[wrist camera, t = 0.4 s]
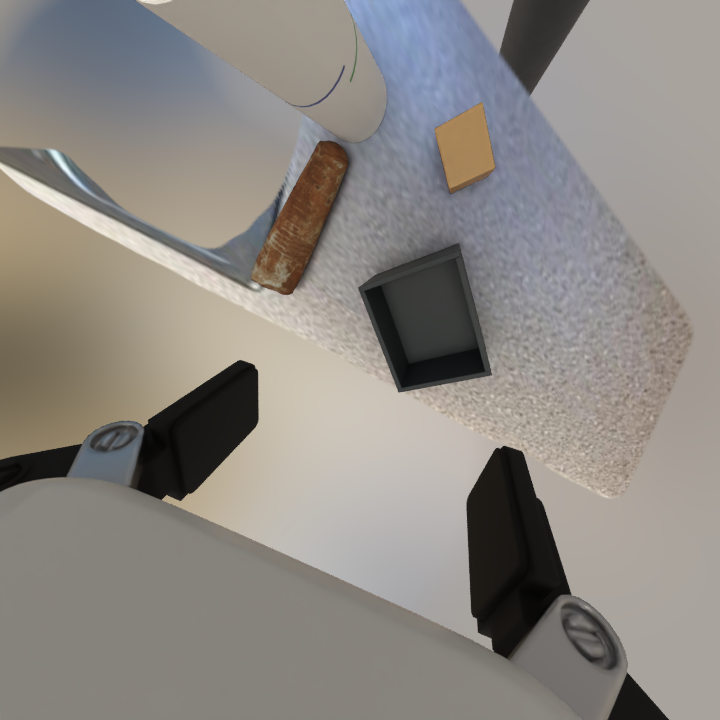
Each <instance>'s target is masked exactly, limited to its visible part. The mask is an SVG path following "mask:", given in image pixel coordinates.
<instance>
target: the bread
mask: <svg viewBox="0 0 720 720" xmlns="http://www.w3.org/2000/svg"><path fill="white" fill-rule="evenodd" d="M347 166H348V158H347V154H346V152H345V151H344V149H343V148H342V147H341V146H340V145H338V144H337V143H335V142H332V141H320V142H319V143H318V144H317V146H316V148H315V150H314V152H313V154H312V156H311V158H310V160H309V162H308V163H307V165H306V167H305V168H304V170H303V172H302V173H301V175H300V177H299V179H298V181H297V183H296V185H295V186H294V188H293V190H292V192H291V194H290V196H289V198H288V200H287V202H286V203H285V205H284V207H283V209H282V211H281V213H280V214H279V216H278V218H277V220H276V222H275V224H274V226H273V228H272V229H271V231H270V233H269V235H268V237H267V239H266V241H265V243H264V245H263V247H262V249H261V251H260V253H259V255H258V257H257V260H256V262H255V265H254V267H253V270H252V274H251V279H252V280H253V281H255V282H257V283H258V284H260V285H261V286H262V287H266V288H268V289H271V290H275V291H277V292H279V293H280V294H283V295H289V294H292V293H293V291H294V289H295V288H296V286H297V284H298V282H299V281H300V278H301V276H302V274H303V271H304V269H305V267H306V265H307V263H308V261H309V259H310V256H311V254H312V252H313V249H314V247H315V245H316V242H317V240H318V237H319V235H320V232H321V230H322V228H323V225H324V223H325V220H326V218H327V215H328V213H329V211H330V208H331V206H332V204H333V201H334V199H335V196H336V194H337V191H338V189H339V186H340V184H341V181H342V178H343V176H344V174H345V172H346V169H347Z"/></svg>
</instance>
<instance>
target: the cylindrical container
mask: <svg viewBox="0 0 720 720" xmlns="http://www.w3.org/2000/svg"><path fill="white" fill-rule="evenodd" d="M136 1H137V2H139V3H140V4H142V5H143V6H144V7H146V8H148V9H149V10H151V11H152V12H153V13H155V14H156V15H158V16H159V17H161V18H162V19H164V20H165V21H167V22H168V23H170V24H171V25H173V26H174V27H176V28H177V29H179V30H180V31H181V32H183V33H184V34H186V35H187V36H189V37H190V38H192V39H193V40H195V41H197V42H198V43H199V44H201V45H202V46H204V47H205V48H207V49H208V50H210V51H211V52H213V53H214V54H216V55H217V56H219V57H220V58H222V59H223V60H224V61H226V62H228V63H229V64H230V65H232V66H233V67H235V68H236V69H238V70H239V71H241V72H243V73H244V74H245V75H247V76H248V77H250V78H251V79H253V80H254V81H256V82H257V83H259V84H260V85H261V86H263V87H264V88H266V89H267V90H269V91H271V92H272V93H273V94H275V95H276V96H278V97H279V98H281V99H282V100H284V101H285V102H287V103H288V104H290V105H291V106H293V107H294V108H296V109H297V110H299V111H300V112H301V113H303V114H304V115H306V116H307V117H309V118H310V119H312V120H313V121H315V122H316V123H318V124H319V125H321V126H322V127H324V128H325V129H327V130H328V131H330V132H331V133H333V134H334V135H336V136H337V137H338V138H340V139H342V140H344V141H346V142H350V143H358V142H362V141H364V140H366V139H368V138H369V137H370V136H371V135H373V134H374V133H375V131H376V130H377V129H378V127H379V126H380V124H381V122H382V120H383V117H384V114H385V110H386V105H387V90H386V84H385V81H384V78H383V76H382V73H381V71H380V69H379V68H378V66H377V64H376V62H375V60H374V58H373V56H372V54H371V52H370V50H369V48H368V46H367V44H366V42H365V40H364V38H363V36H362V34H361V33H360V31H359V29H358V27H357V25H356V23H355V21H354V19H353V17H352V15H351V13H350V11H349V9H348V7H347V5H346V3H345V1H344V0H136Z"/></svg>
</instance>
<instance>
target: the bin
mask: <svg viewBox="0 0 720 720" xmlns="http://www.w3.org/2000/svg"><path fill="white" fill-rule="evenodd" d="M358 289H359V291H360V292H361V293H360V294H361V297H362V299H363V302H364V304H365V307H366V309H367V312H368V315H369V317H370V320H371V322H372V325H373V327H374V330H375V333H376V335H377V338H378V340H379V343H380V345H381V348H382V351H383V353H384V356H385V358H386V361H387V364H388V366H389V369H390V371H391V374H392V376H393V379H394V382H395V384H396V387H397V389H398V392H405V391H410V390H415V389H421V388H426V387H431V386H437V385H442V384H447V383H453V382H458V381H463V380H469V379H474V378H480V377H485V376H490V375H492V373H491V369H490V364H489V360H488V356H487V352H486V348H485V344H484V340H483V336H482V332H481V328H480V324H479V320H478V316H477V312H476V308H475V304H474V300H473V297H472V293H471V289H470V285H469V281H468V277H467V273H466V269H465V265H464V261H463V257H462V253H461V249H460V245H459V243H458V244H456V245H453V246H450V247H448V248H445V249H443V250H440V251H437V252H435V253H432V254H430V255H427V256H424V257H422V258H419V259H416V260H414V261H411V262H409V263H406V264H403V265H401V266H398V267H395V268H393V269H390V270H388V271H385V272H382V273H380V274H377V275H375V276H373V277H372V278H371V279H369V280H368V281H367V282H365V283H364V284H363V285H361V286H360V287H359V288H358Z"/></svg>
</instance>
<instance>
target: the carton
mask: <svg viewBox="0 0 720 720" xmlns="http://www.w3.org/2000/svg"><path fill="white" fill-rule="evenodd" d="M435 135H436V139H437V143H438V147H439V151H440V155H441V159H442V163H443V167H444V171H445V175H446V179H447V183H448V187H449V191H450V194H451V193H454V192H456V191H458V190H460V189H462V188H464V187H467V186H469V185H471V184H473V183H475V182H478V181H480V180H482V179H484V178H486V177H488V176H489V175H490V173H492V172H493V170H494V169H495V163H494V158H493V153H492V148H491V143H490V137H489V132H488V127H487V122H486V117H485V112H484V107H483V103H482V102H481V103H480V104H478V105H476V106H474V107H472V108H471V109H469V110H467V111H465V112H464V113H462V114H460V115H458V116H456V117H455V118H453V119H451V120H449V121H448V122H446V123H444V124H442V125H441V126H439V127H437V128H435Z"/></svg>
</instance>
